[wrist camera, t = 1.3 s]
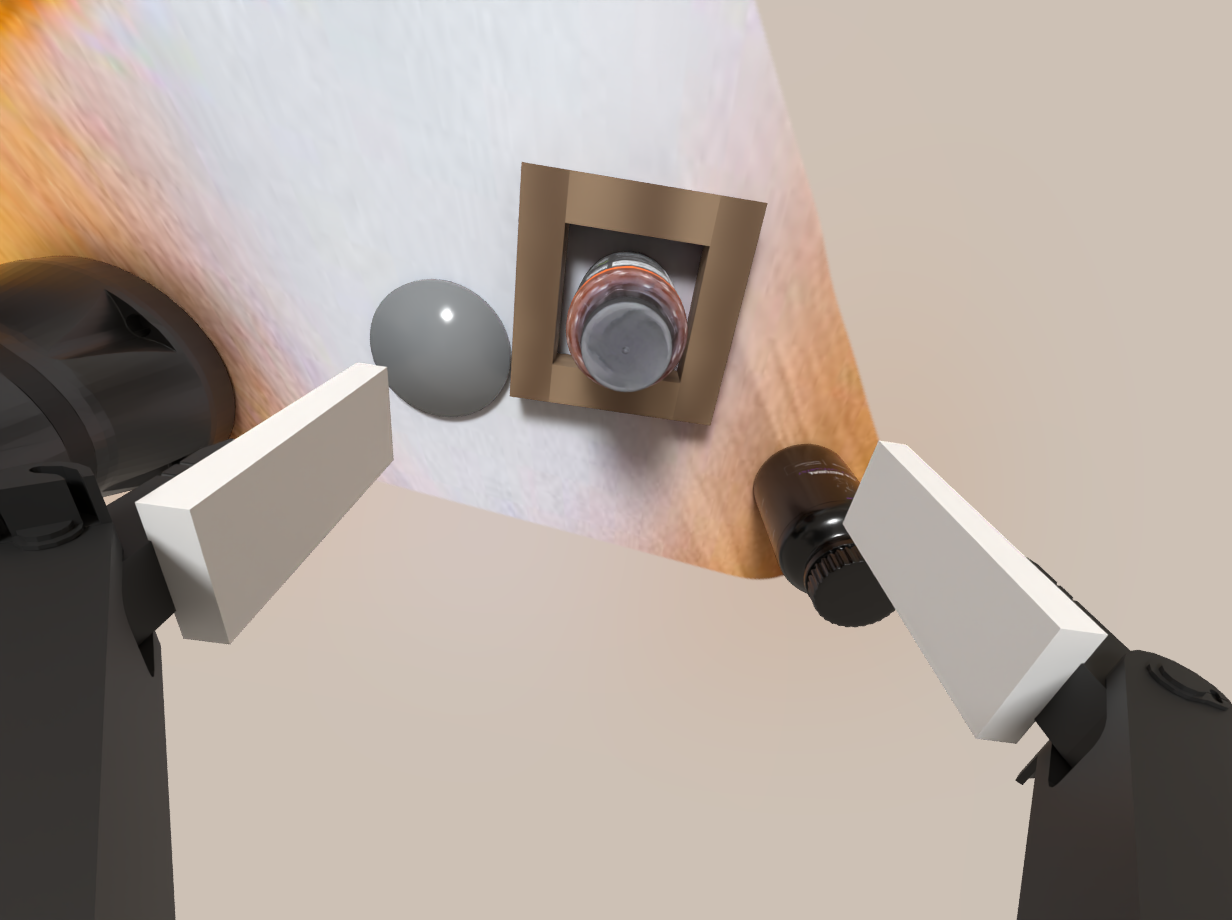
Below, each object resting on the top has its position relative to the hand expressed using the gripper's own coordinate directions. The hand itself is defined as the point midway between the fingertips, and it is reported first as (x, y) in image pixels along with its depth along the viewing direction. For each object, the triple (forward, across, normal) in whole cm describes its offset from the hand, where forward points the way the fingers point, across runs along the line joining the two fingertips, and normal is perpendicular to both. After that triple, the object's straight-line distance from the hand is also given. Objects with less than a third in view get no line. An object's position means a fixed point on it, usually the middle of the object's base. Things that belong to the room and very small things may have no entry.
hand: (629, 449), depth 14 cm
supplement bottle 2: (+21, +14, -11) cm, 27 cm away
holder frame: (+20, 0, 0) cm, 21 cm away
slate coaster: (+20, -12, -5) cm, 24 cm away
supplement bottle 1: (+21, 0, 0) cm, 21 cm away
